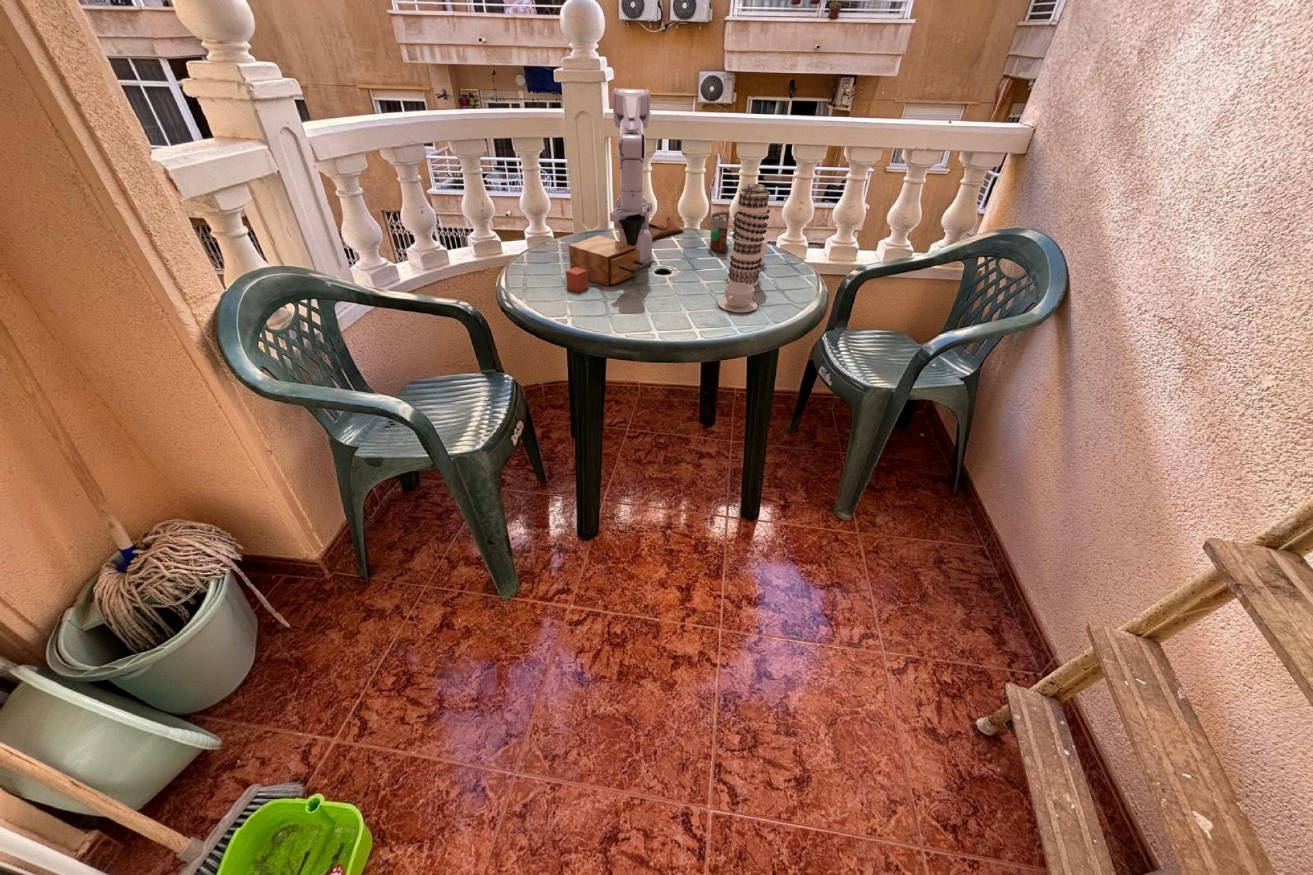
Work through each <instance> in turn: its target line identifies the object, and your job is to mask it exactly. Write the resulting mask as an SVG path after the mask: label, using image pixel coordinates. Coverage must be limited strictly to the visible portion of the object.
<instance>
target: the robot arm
mask: <svg viewBox="0 0 1313 875" xmlns="http://www.w3.org/2000/svg"><path fill="white" fill-rule="evenodd" d="M612 113H613V122H614V123H615V124H614V126H615V127H616V128H618V129H619V136H618V138H617V157H618V163H619V170H620V171H619V189H620V190H619V193H620V195H619V197H618V198H617V199H616V200H615V202H614V210H613V211H611V212H609V221H610V222H613V223H614V229H616V231H618V234H619V241H621V242H624V243H627V244H628V245H630V246H637V248H636V250H639V251H640V262H642V263H645V264H646V263H648V262H649V263H651V262H654V258H653V240H652V236H651V233H650V232H649V230H647V229H648V228H649V222H650V213H651V212H653V203H652V202H648V200H647V199H646V198H645V197H644V168H645V167H644V164H645V163H644V162H645V160H646V154H647V153H646V146H647V145H646V143H647V141H646V135H645V133H644V129H646V128H649V127H648V126H649V123H650V115H651V91H650V90H649V88H645V89H641V88H640V89H639V88H617V87H614V89H613V90H612Z"/></svg>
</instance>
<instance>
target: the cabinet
mask: <svg viewBox="0 0 1313 875" xmlns="http://www.w3.org/2000/svg"><path fill="white" fill-rule="evenodd" d="M636 248H637V246H630V245H628V244H627V243H624V242H621V241H620V240H616V239H614V238H609V237H607V236H606V237H605V236H603V235H595V236H592V237H590V238H586V239H583V240H581V241H577V242H573V243H571V244H568V256H569V257H568V258H569V270H570V269H573V268H575V267H578V268H581V269H584V270H587V274H588V281H590V282H591V281H592V282H595V283H598V284H600V285H603V286H606V287H609V286H611V285H613V284H612V283H611V280H610V281H609V259H608V258H611V257H614V256H617V255H619V254H622V253H625V252H627V251H630V250H632V251H635V250H636Z"/></svg>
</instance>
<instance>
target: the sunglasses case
mask: <svg viewBox="0 0 1313 875" xmlns="http://www.w3.org/2000/svg"><path fill="white" fill-rule="evenodd" d="M647 230H649V232H650V233H651V236H652V241H654V240H658V239H662V238H666V237H669V236H674V235H676V234H680V233H682V232H684V231H685V229H682V228H681V227H680V226H678V224H676V222H674V220H673V219H671V217H670V216H667V217H666V218H661V219H657V220H651V221H649V228H648V229H647Z"/></svg>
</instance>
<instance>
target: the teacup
mask: <svg viewBox="0 0 1313 875" xmlns="http://www.w3.org/2000/svg"><path fill="white" fill-rule="evenodd" d="M754 293H755V287H752V286H751V285H748V284H744V283H728V284H726V285H724V296H725V297H722V298H720V299H719V300H718V302H717V304H718V306H719V307H720V308H722V309H723V310H726V311H729V312H733V313H749V312H752V311H754V310H756V309H757V308H758V304H757V302H756V301H755V300H753V297H754Z"/></svg>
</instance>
